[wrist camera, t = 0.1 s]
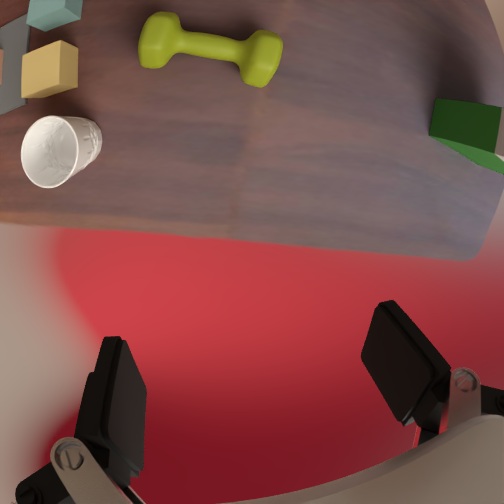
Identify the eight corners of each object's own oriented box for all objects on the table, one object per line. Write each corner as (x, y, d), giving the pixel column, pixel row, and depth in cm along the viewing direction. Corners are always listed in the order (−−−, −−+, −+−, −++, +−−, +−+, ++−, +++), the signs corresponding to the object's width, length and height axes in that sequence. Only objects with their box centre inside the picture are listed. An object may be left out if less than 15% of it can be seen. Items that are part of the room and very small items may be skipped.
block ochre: (43, 60, 24) (22, 55, 19) (78, 48, 25) (60, 39, 20) (43, 98, 27) (21, 97, 22) (78, 87, 28) (59, 83, 23)
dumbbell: (140, 70, 29) (127, 61, 23) (156, 18, 26) (148, -1, 20) (262, 93, 33) (276, 88, 27) (276, 42, 30) (293, 28, 24)
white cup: (58, 171, 32) (23, 190, 24) (57, 117, 29) (20, 122, 20) (107, 168, 34) (79, 185, 25) (107, 111, 30) (78, 110, 22)
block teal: (49, 0, 19) (32, -11, 14) (84, -13, 20) (70, -27, 15) (45, 31, 22) (26, 23, 17) (80, 19, 23) (64, 7, 18)
